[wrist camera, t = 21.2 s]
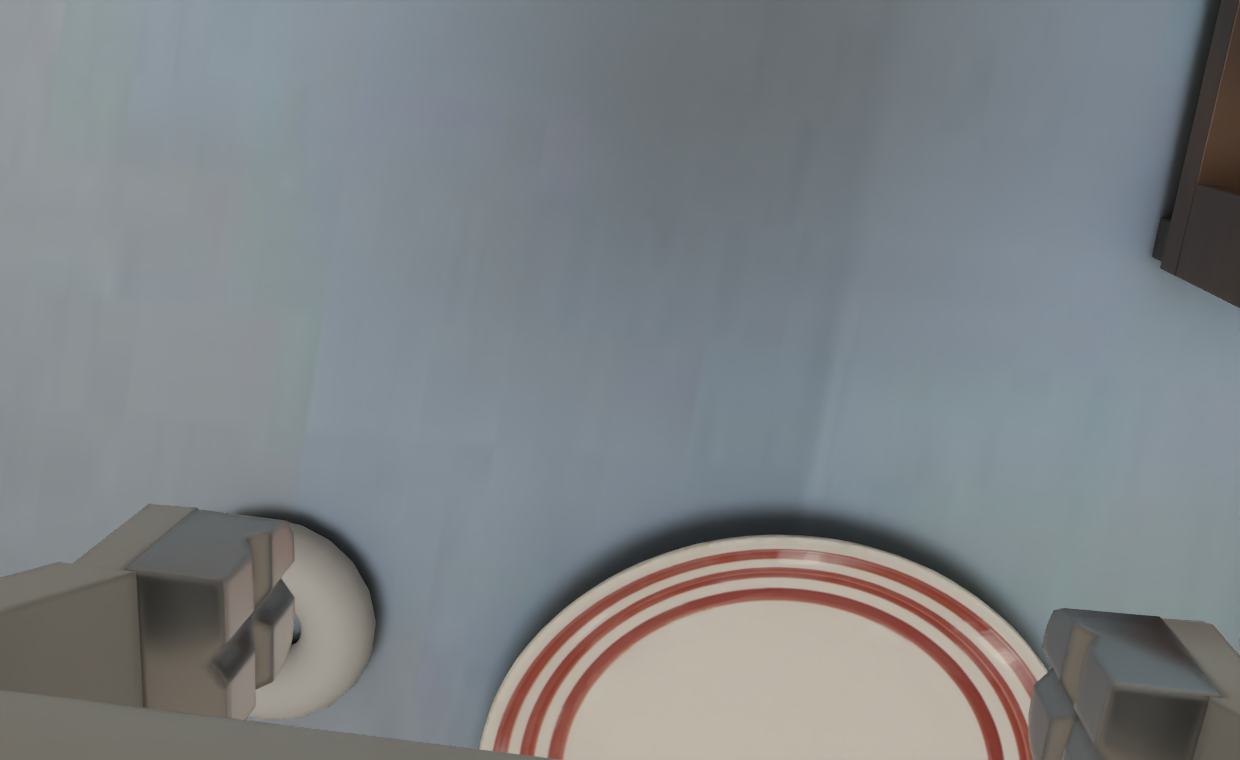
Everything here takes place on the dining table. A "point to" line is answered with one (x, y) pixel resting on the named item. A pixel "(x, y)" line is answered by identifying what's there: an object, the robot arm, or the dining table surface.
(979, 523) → the dining table surface
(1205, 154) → the shelf
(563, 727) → the dinner plate
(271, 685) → the donut
